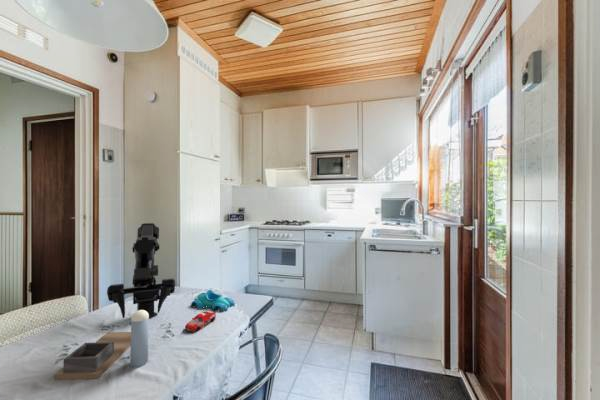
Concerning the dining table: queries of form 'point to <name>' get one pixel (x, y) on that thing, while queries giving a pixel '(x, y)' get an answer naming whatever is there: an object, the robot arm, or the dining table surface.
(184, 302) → the dining table surface
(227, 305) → the toy car
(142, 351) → the post
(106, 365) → the board
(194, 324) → the race car
